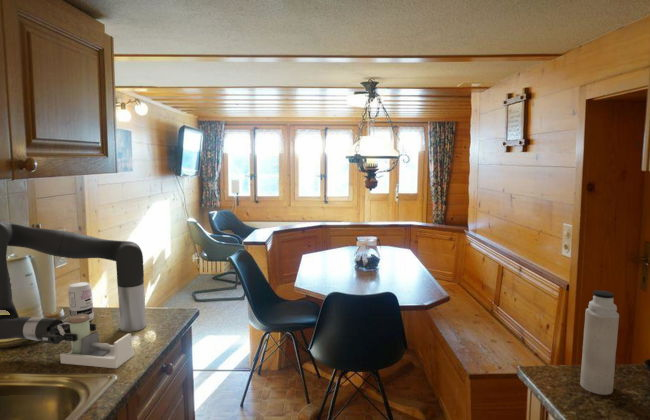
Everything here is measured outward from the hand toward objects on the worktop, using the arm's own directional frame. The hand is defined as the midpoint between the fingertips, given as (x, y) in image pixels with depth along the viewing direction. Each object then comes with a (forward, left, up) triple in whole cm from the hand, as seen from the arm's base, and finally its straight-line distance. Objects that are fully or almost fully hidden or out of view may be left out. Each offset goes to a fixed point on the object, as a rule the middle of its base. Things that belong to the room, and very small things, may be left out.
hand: (86, 332), depth 145 cm
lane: (+2, +3, -9) cm, 10 cm away
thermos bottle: (+70, +140, -9) cm, 157 cm away
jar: (-1, -2, -8) cm, 8 cm away
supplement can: (-38, -8, -9) cm, 40 cm away
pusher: (+2, +4, -8) cm, 9 cm away
